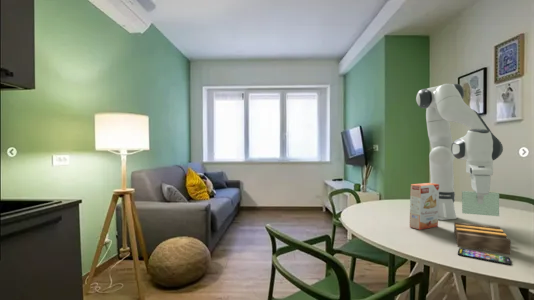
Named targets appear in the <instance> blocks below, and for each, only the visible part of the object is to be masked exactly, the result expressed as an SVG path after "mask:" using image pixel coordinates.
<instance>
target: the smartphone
mask: <svg viewBox="0 0 534 300" xmlns="http://www.w3.org/2000/svg"><path fill="white" fill-rule="evenodd" d="M457 255H458V256H459V257H464V258H470V259H474V260H479V261H484V262H489V263H494V264H500V265H505V266H511V265H512V262H511V257H509V256H505V255H500V254H495V253H491V252H483V251H481V250H475V249H470V248H464V247H459V248H458V250H457Z"/></svg>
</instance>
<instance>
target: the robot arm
mask: <svg viewBox="0 0 534 300" xmlns="http://www.w3.org/2000/svg"><path fill="white" fill-rule="evenodd" d="M464 97H465V91H464V88H463V86H462V85H461V84H459V83H443V84H441V85H437V86H432V87H428V88H422V89H420V90H418V92H417V93H416V98H415V101H416V103H417V106H418V107H419V108H420V109H425V110H426V111H425V119H426V120H425V121H426V129H427V136H428V140H429V143H430V148H431V150H430V152H429V155H428V158H429V173H430V183H434V184H439V206H438V221H439V220H441V221H446V220H456V219H457V218H458V217H457V212H456V209H455V208H456V207H455V202H456V201H455V200H456V194H455V190H454V188H455V185H454V184H455V176H454V173H455V172H454V161H455V159H457V160H464V161H465V160H466V161H465V172H466V174H469V177H470V183H471V184H470V186H471V189H472V191H473V192H476V193H477V203H478V204H483V198H484V195H488V194H489V192H490V188H491V176H493V174H494V161H495V160H497V159H498V158H499V157H500V156H501V155H502V154H503V151H504V146H503V144H502V142H501V141H500V139H498V138H497V137H496V136H495V135H494V133H493V132H492V131H491V129H490V128H489V127H488V126H487V124H486V122H485V121H484V119H483V118H482V116H481V115H480V114H479V112H477V111H476V110H474V109H473V108H471V107H470V106H469V105H468V104H467V103H466V102H465V101H464ZM451 123H457V124H461V125H464V126H466V127H469V128H470V129H469V130H467V132H466V134H465V135H464V136H462V137H460V138H456V139H455V140H454V141H453V136H452V130H451V129H452V128H451Z"/></svg>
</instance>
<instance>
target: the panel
mask: <svg viewBox="0 0 534 300" xmlns="http://www.w3.org/2000/svg"><path fill="white" fill-rule="evenodd" d="M461 212H462V214H466V215H467V214H468V215H477V216H490V217H500V193H499V192H493V191H492V192H491V191H489V194H488V195H484V198H483V204H478V203H477V193H476V192H475V191H474V190H471V191H470V190H461Z"/></svg>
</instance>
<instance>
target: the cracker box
mask: <svg viewBox="0 0 534 300" xmlns="http://www.w3.org/2000/svg"><path fill="white" fill-rule="evenodd" d="M409 192H410V194H409V195H410V200H409V202H410V203H409V227H410V228H412V229H417V230H419V231H421V230H427V229H431V228H436V227H438V226H439V219H438V206H439V184H434V183H431V182H423V183H411V184H410V191H409Z"/></svg>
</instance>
